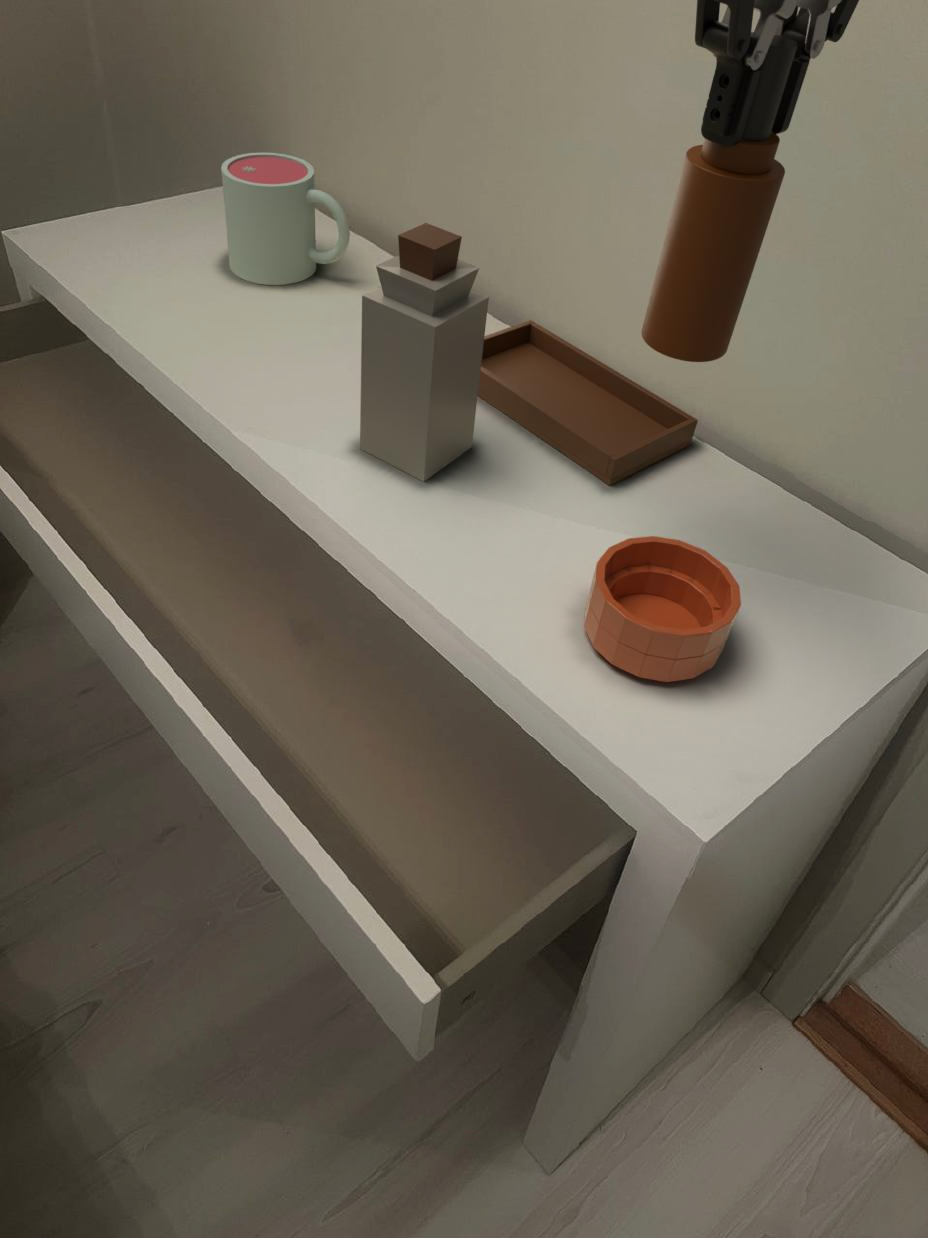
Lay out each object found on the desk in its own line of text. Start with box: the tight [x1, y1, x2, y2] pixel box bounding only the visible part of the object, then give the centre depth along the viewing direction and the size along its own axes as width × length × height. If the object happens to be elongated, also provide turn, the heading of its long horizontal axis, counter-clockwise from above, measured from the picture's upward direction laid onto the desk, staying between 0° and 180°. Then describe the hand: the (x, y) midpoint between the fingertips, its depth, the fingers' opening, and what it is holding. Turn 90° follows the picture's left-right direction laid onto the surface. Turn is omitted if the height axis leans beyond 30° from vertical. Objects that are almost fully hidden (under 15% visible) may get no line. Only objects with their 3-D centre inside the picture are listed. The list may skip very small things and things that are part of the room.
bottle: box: [641, 31, 798, 363], centre depth 54 cm, size 6×6×17 cm
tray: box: [478, 319, 699, 486], centre depth 84 cm, size 21×11×3 cm, turn 41°
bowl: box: [583, 535, 742, 683], centre depth 63 cm, size 10×10×5 cm
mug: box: [220, 152, 351, 286], centre depth 97 cm, size 14×9×10 cm
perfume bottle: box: [359, 222, 490, 482], centre depth 72 cm, size 7×7×18 cm
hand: (744, 133), depth 51 cm, fingers closed on bottle, 4 cm apart
